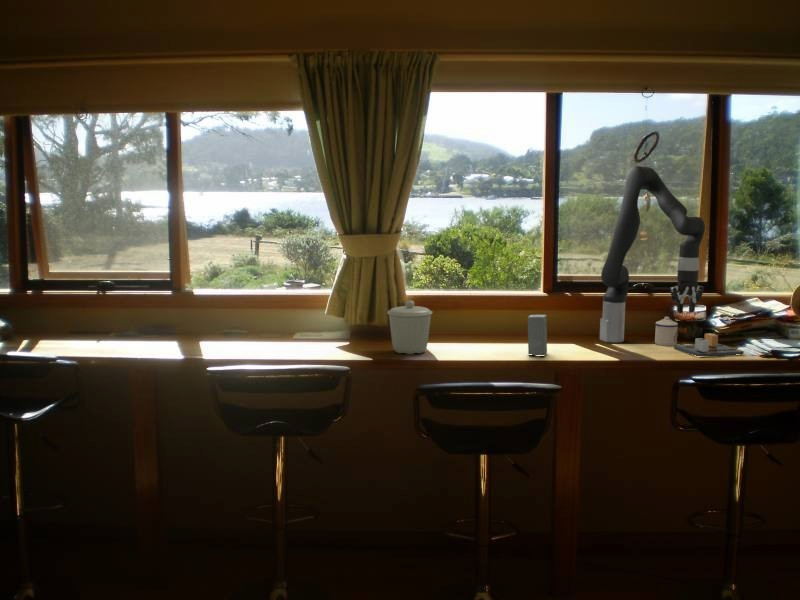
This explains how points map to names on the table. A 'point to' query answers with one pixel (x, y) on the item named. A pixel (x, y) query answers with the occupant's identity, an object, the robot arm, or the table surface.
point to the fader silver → (701, 344)
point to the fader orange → (712, 339)
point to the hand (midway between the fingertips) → (685, 312)
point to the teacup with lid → (666, 332)
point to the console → (709, 350)
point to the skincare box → (537, 334)
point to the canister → (409, 328)
